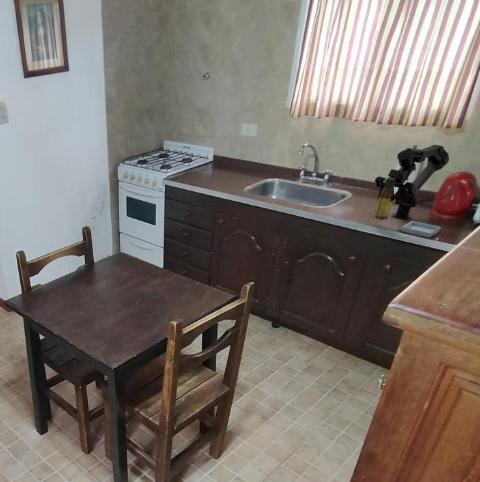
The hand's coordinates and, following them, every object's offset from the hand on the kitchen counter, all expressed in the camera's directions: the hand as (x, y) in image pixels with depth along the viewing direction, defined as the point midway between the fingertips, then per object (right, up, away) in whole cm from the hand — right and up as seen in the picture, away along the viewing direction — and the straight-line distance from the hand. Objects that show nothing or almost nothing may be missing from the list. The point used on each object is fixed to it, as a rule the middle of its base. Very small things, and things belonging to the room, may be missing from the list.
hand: (384, 199), depth 234 cm
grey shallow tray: (+17, -16, -1) cm, 23 cm away
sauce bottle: (+2, -8, +6) cm, 10 cm away
